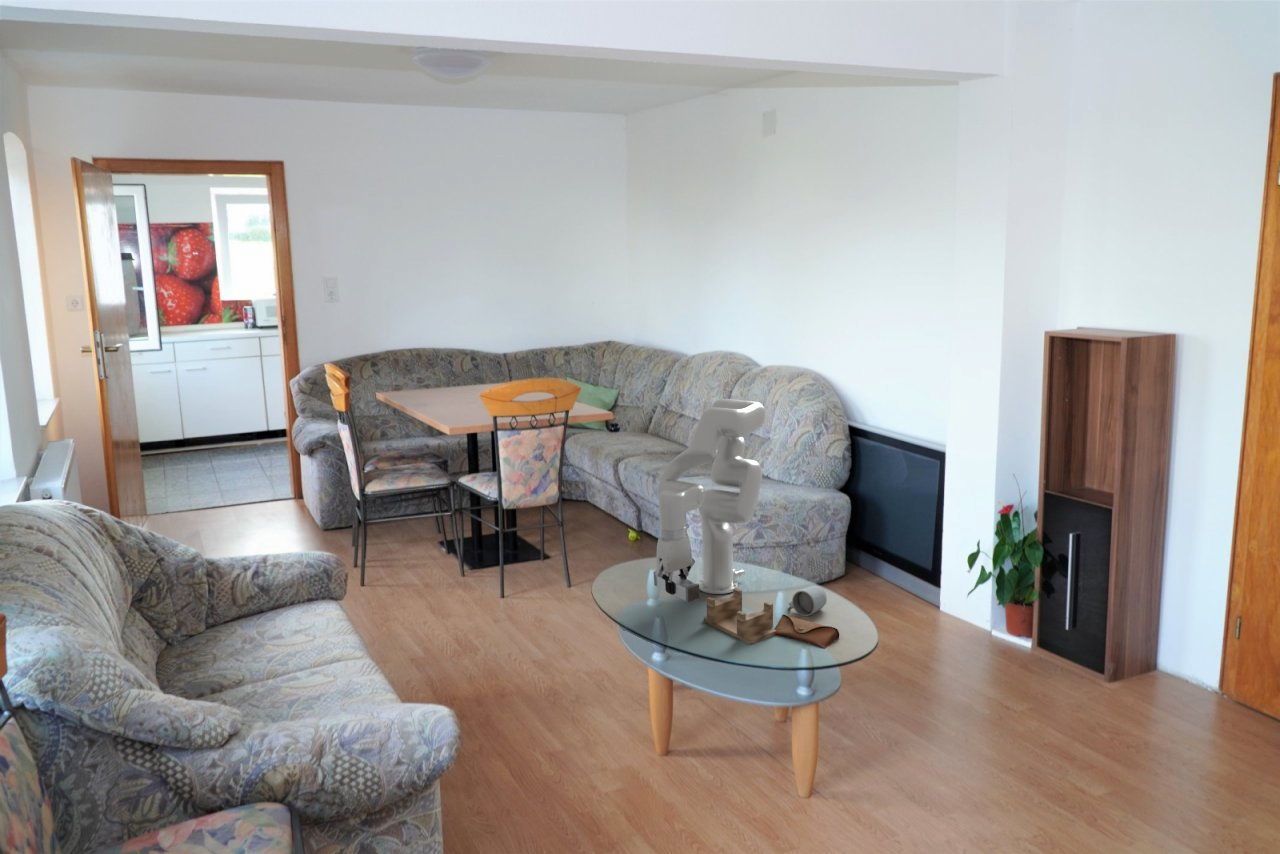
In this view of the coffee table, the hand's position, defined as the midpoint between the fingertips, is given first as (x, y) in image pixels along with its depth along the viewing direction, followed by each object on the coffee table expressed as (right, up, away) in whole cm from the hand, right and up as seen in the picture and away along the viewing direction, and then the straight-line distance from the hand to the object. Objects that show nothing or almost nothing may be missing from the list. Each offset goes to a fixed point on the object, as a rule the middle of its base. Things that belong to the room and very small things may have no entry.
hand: (676, 590), depth 298 cm
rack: (+18, -10, -7) cm, 21 cm away
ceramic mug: (+38, -7, +3) cm, 39 cm away
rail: (0, 0, 0) cm, 0 cm away
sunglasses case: (+35, -11, -13) cm, 39 cm away
